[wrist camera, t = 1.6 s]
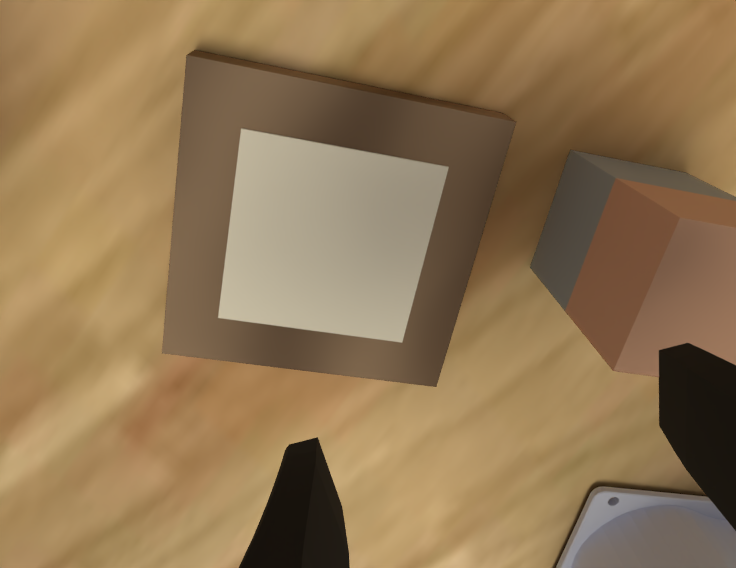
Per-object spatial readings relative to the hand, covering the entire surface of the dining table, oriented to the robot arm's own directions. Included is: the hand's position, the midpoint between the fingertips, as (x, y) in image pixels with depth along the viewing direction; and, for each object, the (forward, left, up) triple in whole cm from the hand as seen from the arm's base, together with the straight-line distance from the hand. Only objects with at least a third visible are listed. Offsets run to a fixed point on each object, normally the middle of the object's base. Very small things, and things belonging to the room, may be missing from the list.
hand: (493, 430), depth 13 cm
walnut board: (+3, 0, -11) cm, 11 cm away
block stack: (-7, -2, -11) cm, 13 cm away
